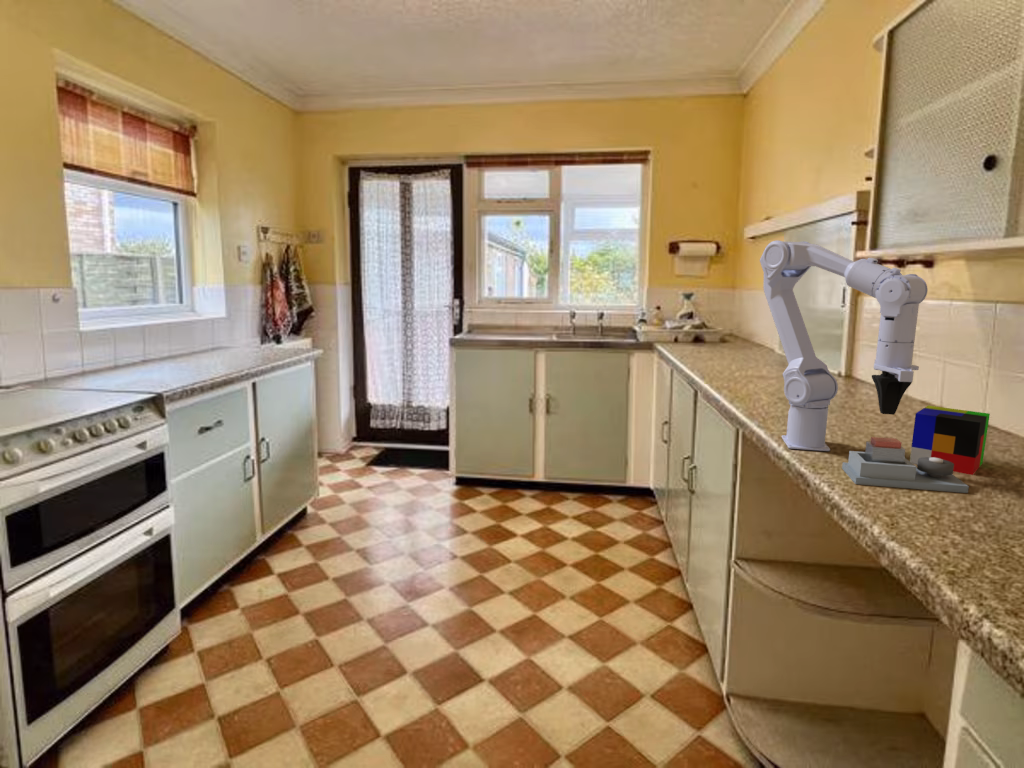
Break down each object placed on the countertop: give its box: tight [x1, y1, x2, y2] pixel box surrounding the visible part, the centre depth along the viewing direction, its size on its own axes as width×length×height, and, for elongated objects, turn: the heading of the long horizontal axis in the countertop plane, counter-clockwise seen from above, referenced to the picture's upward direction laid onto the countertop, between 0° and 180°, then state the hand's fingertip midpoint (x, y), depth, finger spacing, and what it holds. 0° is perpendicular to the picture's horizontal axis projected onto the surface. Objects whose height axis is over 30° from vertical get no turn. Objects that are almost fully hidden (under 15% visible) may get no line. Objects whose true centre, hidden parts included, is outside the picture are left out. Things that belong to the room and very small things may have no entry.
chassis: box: [841, 450, 970, 494], centre depth 108 cm, size 9×17×4 cm, turn 75°
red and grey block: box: [864, 436, 906, 464], centre depth 108 cm, size 4×5×6 cm
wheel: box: [916, 457, 954, 475], centre depth 106 cm, size 5×5×2 cm
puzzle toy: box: [909, 405, 991, 476], centre depth 117 cm, size 10×10×10 cm
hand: (887, 413), depth 114 cm, fingers closed
